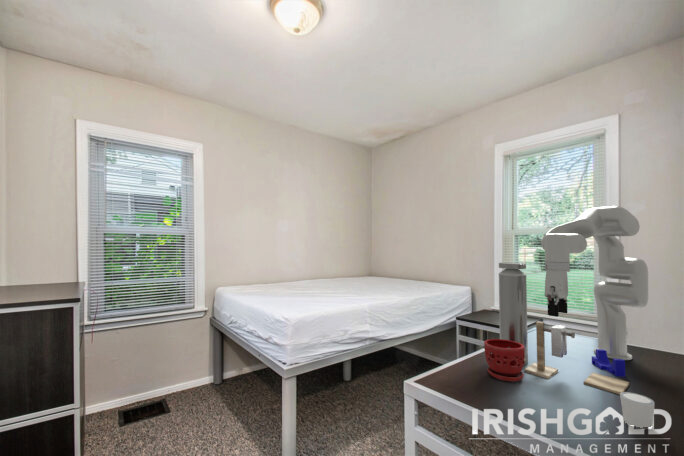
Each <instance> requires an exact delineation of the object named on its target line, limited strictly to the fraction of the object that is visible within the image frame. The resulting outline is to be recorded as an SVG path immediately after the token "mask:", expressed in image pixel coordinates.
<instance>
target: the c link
mask: <svg viewBox="0 0 684 456" xmlns="http://www.w3.org/2000/svg"><path fill="white" fill-rule="evenodd" d="M550 329H551V332H550V333H551V335H550V336H551V337H550V338H551V344H550V345H551V357H556V358H563V357H564V356H566V355H567V354H568V349H567V347H568V346H567V345H568V342H567V338H568V336H566V335H562V332H567V326H566V325H560V324H555V325H553V326H551V328H550Z"/></svg>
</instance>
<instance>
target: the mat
mask: <svg viewBox="0 0 684 456" xmlns="http://www.w3.org/2000/svg"><path fill="white" fill-rule="evenodd" d="M583 385H586V386H589V387H593V388H597V389H600V390H603V391H606V392H610V393H613V394H617V395H620V393H622V392H626V390H627V388H628V387H629V386H630V382H629V381H627V380H623V379H620V378H615V377H611V376H607V375H603V374H599V373H597V372H592V373H591V374H590V375H588V376H587V378H586V379H584V381H583Z"/></svg>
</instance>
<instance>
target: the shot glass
mask: <svg viewBox="0 0 684 456" xmlns="http://www.w3.org/2000/svg"><path fill="white" fill-rule="evenodd" d="M619 398H620V404H621V410H622V419H623V422H624V421H625V422H624V423H625V424H626V423H627V424H626V425H628V424H629V425H628V426H630V425H634V426H636V427H640V428H643V427H651V426H654V425H653V424H654V415H655V414H654V413H655V401H654V400H653V399H651V398H650V397H648V396H646V395H643V394H638V393H635V392H629V391H624V392H622V393H620V394H619Z"/></svg>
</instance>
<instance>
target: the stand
mask: <svg viewBox="0 0 684 456" xmlns="http://www.w3.org/2000/svg"><path fill="white" fill-rule="evenodd" d="M535 323H536V362H534V363H532V364H530V365H527V367H525V368H524V370H523V371H524V373H527V374H531V375H534V376H537V377H540V378H544V379H547V380H549V379H551V378H552V377H553V376H554V375H556V374H557V373H558V372H559V369H558V368H556V367H552V366H548V365H546V350H545V348H546V346H545V343H546V342H545V332H547V333H551V328H545V322H544V321H539V320H537V321H536V322H535ZM562 335H566V337H571V339H575V336H576V333H575V332H574V331H572V332H568V331H566V332H562Z"/></svg>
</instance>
